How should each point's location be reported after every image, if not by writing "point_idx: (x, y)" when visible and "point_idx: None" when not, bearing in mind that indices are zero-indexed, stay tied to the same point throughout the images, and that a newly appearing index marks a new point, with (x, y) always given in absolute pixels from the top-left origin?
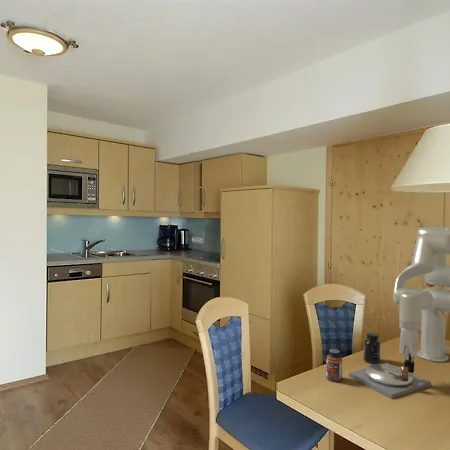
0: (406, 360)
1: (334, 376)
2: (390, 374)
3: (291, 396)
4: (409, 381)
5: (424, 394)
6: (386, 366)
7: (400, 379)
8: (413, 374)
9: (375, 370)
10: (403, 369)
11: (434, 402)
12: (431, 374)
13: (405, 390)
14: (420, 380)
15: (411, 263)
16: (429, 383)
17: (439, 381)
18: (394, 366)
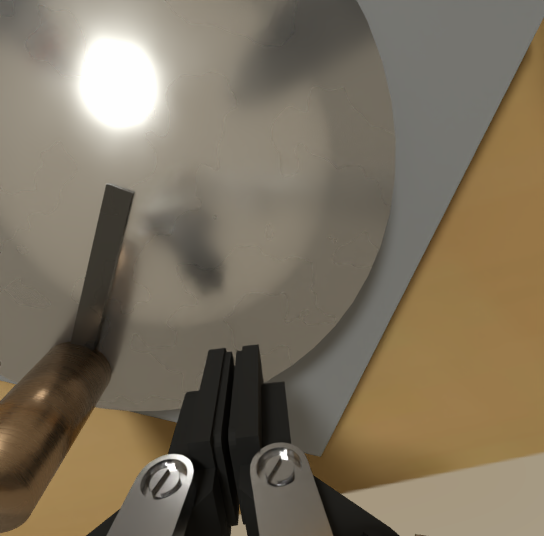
0: (109, 529)
1: None
2: (83, 222)
3: None
4: (97, 403)
5: (141, 441)
6: (295, 85)
7: (51, 342)
8: (384, 329)
9: (30, 11)
10: None
11: (80, 503)
12: (538, 383)
13: (6, 379)
14: (291, 402)
15: None
16: (302, 446)
17: (434, 447)
18: (369, 168)
